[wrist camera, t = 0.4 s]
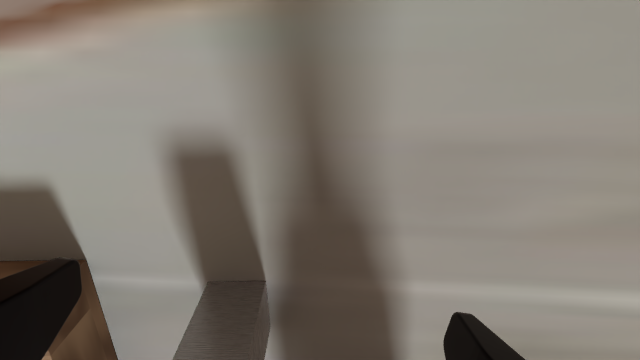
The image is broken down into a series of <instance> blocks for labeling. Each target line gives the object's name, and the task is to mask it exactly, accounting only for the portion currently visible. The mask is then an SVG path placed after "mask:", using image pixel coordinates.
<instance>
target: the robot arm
mask: <svg viewBox="0 0 640 360" xmlns="http://www.w3.org/2000/svg"><path fill="white" fill-rule="evenodd" d="M81 293H82V281H81V270H80V263H79V262H78V261H77V260H76V259H70V258H62V257H59V258H55V259H53V260H50V261H47V262H44V263H42V264H39V265H36V266H34V267H31V268H28V269H26V270H23V271H20V272H17V273H15V274H12V275H9V276H7V277H4V278H1V279H0V360H42V359H43V357H44V356H45V354H46V352H47V351H48V349H49V348H50V346H51V345H52V343H53V341H54V340H55V338H56V336H57V335H58V333H59V331H60V330H61V328H62V326H63V325H64V323H65V322H66V320H67V318H68V317H69V315H70V313H71V312H72V310H73V308H74V307H75V305H76V303H77V302H78V300H79V298H80V296H81ZM444 352H445V358H446V360H525V359H524V358H523V357H522V356H520V355H519V354H518V353H517V352H516V351H515V350H513V349H512V348H511V347H510V346H509V345H507V344H506V343H505V342H504V341H503V340H502V339H500V338H499V337H498V336H497V335H496V334H495V333H493V332H492V331H491V330H490V329H489V328H487V327H486V326H485V325H484V324H483V323H482V322H480V321H479V320H478V319H477V318H476V317H475V316H473V315H472V314H468V313H461V312H456V313H454V314H453V315H452V317H451V320H450V323H449V325H448V328H447V331H446V334H445V337H444Z"/></svg>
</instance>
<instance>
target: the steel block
mask: <svg viewBox="0 0 640 360" xmlns="http://www.w3.org/2000/svg"><path fill="white" fill-rule="evenodd" d="M269 332H270V316H269V307H268V297H267V288H266V281H239V282H208V283H207V285H206V288H205V290H204V292H203V294H202V296H201V298H200V301H199V303H198V305H197V307H196V309H195V312H194V314H193V316H192V318H191V320H190V322H189V325H188V327H187V329H186V331H185V333H184V336H183V338H182V340H181V342H180V344H179V346H178V349H177V351H176V353H175V355H174V357H173V360H264V359H265V353H266V348H267V343H268V337H269Z"/></svg>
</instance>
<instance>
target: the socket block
mask: <svg viewBox="0 0 640 360" xmlns="http://www.w3.org/2000/svg"><path fill="white" fill-rule="evenodd" d="M49 261H50V260H49ZM77 261H78V262H79V263H80V270H81V281H82V293H81V296H80V298H79V300H78V302H77V303H76V305H75V307H74V308H73V310H72V312H71V313H70V315H69V317H68V318H67V320H66V322H65V323H64V325H63V326H62V328H61V330H60V331H59V333H58V335H57V336H56V338H55V340H54V341H53V343H52V345H51V346H50V348H49V349H48V351H47V352H46V354H45V356H44V357H43V359H42V360H118V359H117V356H116V353H115V350H114V347H113V344H112V340H111V337H110V334H109V331H108V328H107V325H106V321H105V318H104V315H103V312H102V309H101V306H100V302H99V299H98V296H97V293H96V290H95V287H94V283H93V280H92V277H91V274H90V271H89V268H88V265H87V261H86V260H77ZM44 262H47V261H0V279H1V278H4V277H7V276H9V275H12V274H15V273H17V272H20V271H23V270H26V269H28V268H31V267H34V266H36V265H39V264H42V263H44Z"/></svg>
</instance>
